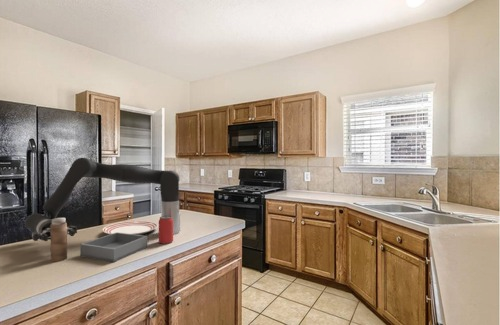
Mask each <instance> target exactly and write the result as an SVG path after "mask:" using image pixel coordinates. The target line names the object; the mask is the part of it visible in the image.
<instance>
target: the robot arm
mask: <svg viewBox="0 0 500 325" xmlns="http://www.w3.org/2000/svg"><path fill="white" fill-rule="evenodd" d="M83 178H97V179H98V178H99V179H107V180H112V181H117V182H122V183H131V184H156V185H160V201H161V202H160V203H161V204H160V205H161V206H160V207H161V208H160V209H161V212H160V214H161V216H160V217H162V216H172V219H173V235H177V234H179V233H180V231H181V213H180V189H179V187H180V186H179V185H180V184H179V182H180V175H179V174H178V173H177V172H176V171H175V170H163V169H162V170H161V169H160V170H158V169H151V168H147V167H145V166H137V165H133V164H123V163H120V164H119V163H118V164H116V163H115V164H106V163H101V162H97V161H94V160H91V159H89V158H87V157H78V158H76V159H75V160H74V161H73V162H72V163H71V165H70V167H69V169H68V171H67V173H66V174H65V176H64V178H63V179H62V181H61V182H60V184H59V185H58V187H56V189H55V190H54V192H53V193H52V194H51V196H50V197H49V198H48V199H47V201H45V203H44V204H43V206H42V210H43V211H44V212H46V213H47V214H49V215H48V216H46V215H43V214H40V213H39V212H38V213H32V214H30V215H28V217H27V218H26V219H25V221H24V225H25V227H26V228H28V229H30V230H32V232H31V238H32V240H33V241H34V242H37V241H39V240H40V241H43V242H48V240H49V241H51V227H50V225H51V224H52V219H55V218H58V214H59V213H60V211H61V210H62V209H63V207H64V206H65V205H66V204H67V203H68V201H69V199H70V197H71V195H72V193H73V190H74V189H75V187H76V185H77V184H78V183H79V182H80V181H81V180H82V179H83ZM77 233H78V227H77V226H75V225H71V224H70V225H68V226H67V236H71V237H74V236H75V235H76V234H77Z"/></svg>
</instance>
